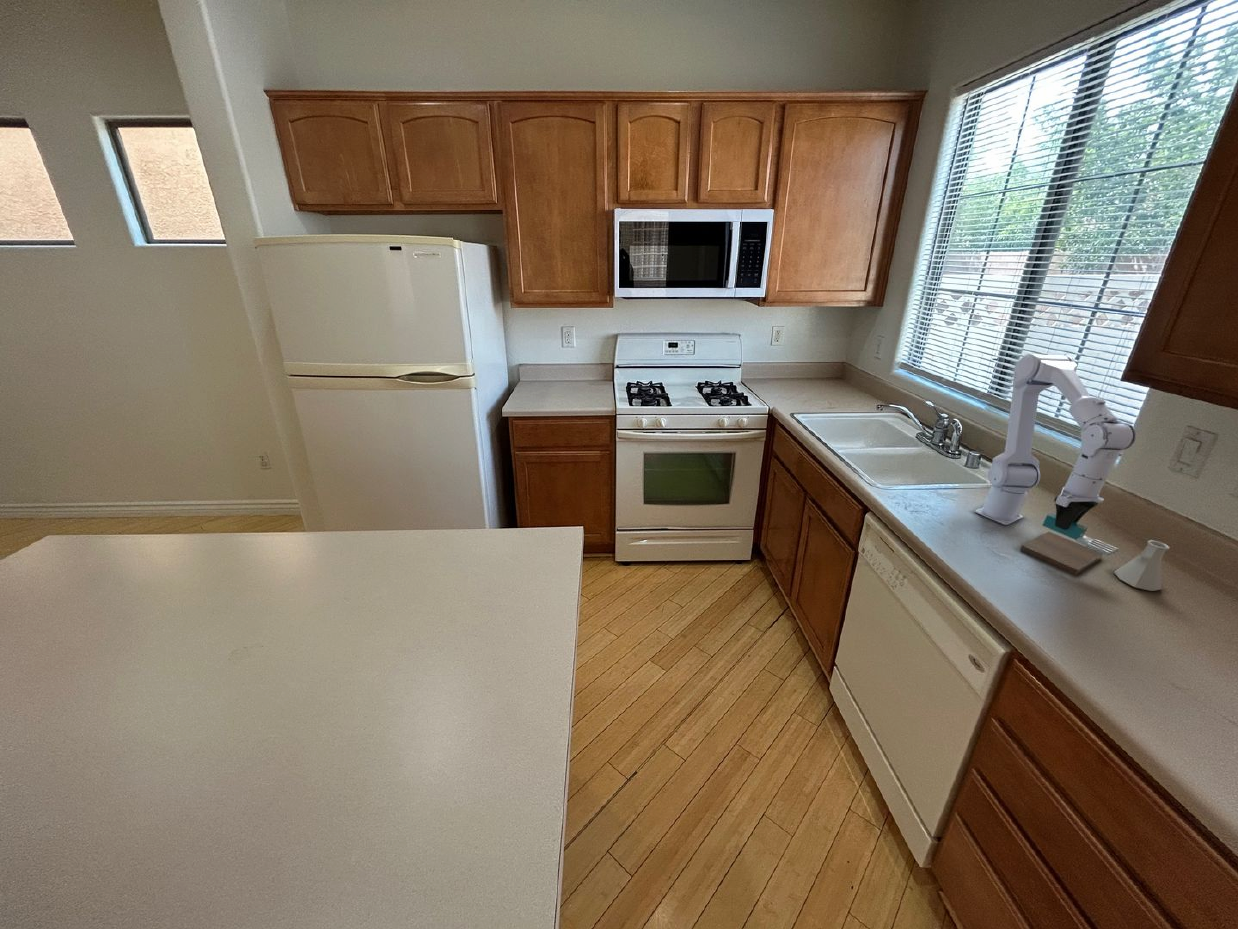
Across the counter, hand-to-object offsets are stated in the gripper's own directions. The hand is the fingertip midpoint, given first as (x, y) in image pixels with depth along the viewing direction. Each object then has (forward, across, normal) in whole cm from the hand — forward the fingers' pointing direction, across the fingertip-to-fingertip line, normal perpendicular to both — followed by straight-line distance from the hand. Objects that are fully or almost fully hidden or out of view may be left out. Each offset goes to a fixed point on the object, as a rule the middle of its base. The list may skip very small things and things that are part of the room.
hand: (1063, 526), depth 111 cm
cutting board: (+8, +3, -1) cm, 9 cm away
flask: (+9, +7, -13) cm, 18 cm away
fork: (+1, 0, -4) cm, 4 cm away
